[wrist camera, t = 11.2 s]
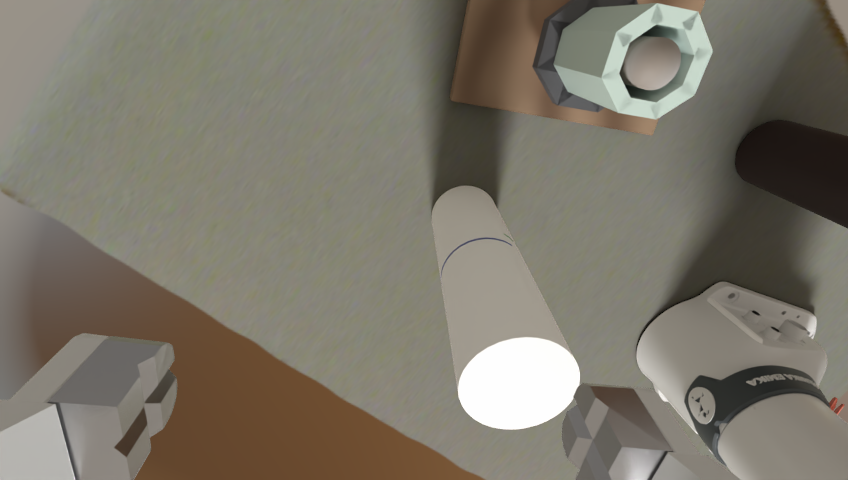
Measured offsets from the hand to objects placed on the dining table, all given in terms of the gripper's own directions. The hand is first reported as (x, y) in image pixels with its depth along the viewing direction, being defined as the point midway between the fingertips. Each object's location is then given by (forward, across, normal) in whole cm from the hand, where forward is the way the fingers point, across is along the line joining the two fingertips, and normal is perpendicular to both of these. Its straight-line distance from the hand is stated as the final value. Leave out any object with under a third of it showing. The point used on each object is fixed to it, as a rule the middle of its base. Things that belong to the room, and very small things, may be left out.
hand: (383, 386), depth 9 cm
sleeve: (+31, +15, +7) cm, 35 cm away
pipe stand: (+37, +15, +7) cm, 41 cm away
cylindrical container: (+37, +9, -11) cm, 40 cm away
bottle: (+37, +39, +1) cm, 54 cm away
